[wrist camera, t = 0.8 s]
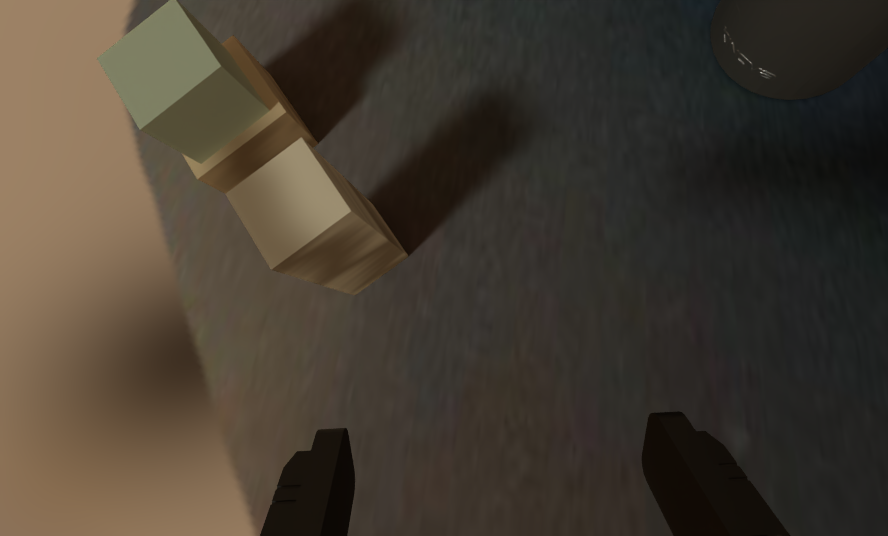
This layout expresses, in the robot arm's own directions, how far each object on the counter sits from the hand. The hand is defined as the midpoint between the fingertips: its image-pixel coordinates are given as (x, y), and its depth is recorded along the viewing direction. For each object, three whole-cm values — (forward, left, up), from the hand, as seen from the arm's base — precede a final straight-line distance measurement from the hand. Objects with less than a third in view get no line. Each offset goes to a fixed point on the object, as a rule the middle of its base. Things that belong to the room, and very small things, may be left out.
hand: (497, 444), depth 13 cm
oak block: (+5, -25, -18) cm, 31 cm away
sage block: (+5, -25, -13) cm, 29 cm away
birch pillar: (+3, -13, -17) cm, 22 cm away
